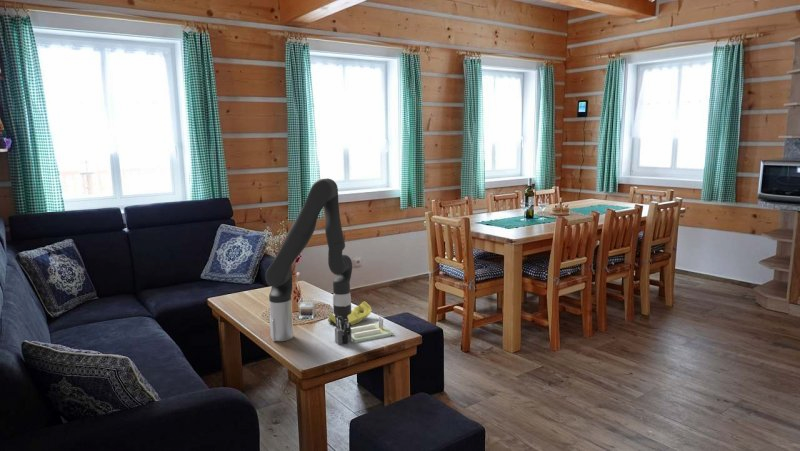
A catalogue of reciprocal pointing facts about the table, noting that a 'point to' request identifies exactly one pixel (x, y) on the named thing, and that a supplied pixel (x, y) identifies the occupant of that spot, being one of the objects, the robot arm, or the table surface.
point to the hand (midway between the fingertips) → (343, 341)
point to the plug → (339, 336)
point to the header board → (370, 332)
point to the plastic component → (355, 314)
